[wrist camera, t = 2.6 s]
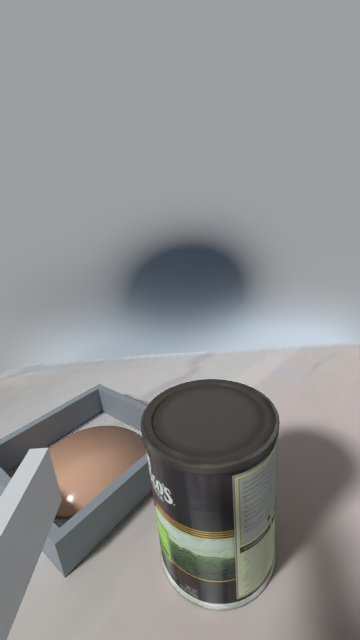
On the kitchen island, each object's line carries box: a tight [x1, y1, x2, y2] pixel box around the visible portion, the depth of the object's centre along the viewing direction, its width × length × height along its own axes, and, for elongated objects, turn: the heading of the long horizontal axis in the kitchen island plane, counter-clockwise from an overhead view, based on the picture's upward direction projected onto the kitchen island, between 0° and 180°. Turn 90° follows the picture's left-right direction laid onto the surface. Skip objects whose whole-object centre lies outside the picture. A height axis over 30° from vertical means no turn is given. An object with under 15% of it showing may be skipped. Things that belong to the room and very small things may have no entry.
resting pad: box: [49, 426, 146, 518], centre depth 39 cm, size 14×14×1 cm
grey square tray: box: [0, 384, 152, 577], centre depth 39 cm, size 18×18×4 cm
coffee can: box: [141, 379, 279, 610], centre depth 26 cm, size 10×10×14 cm
